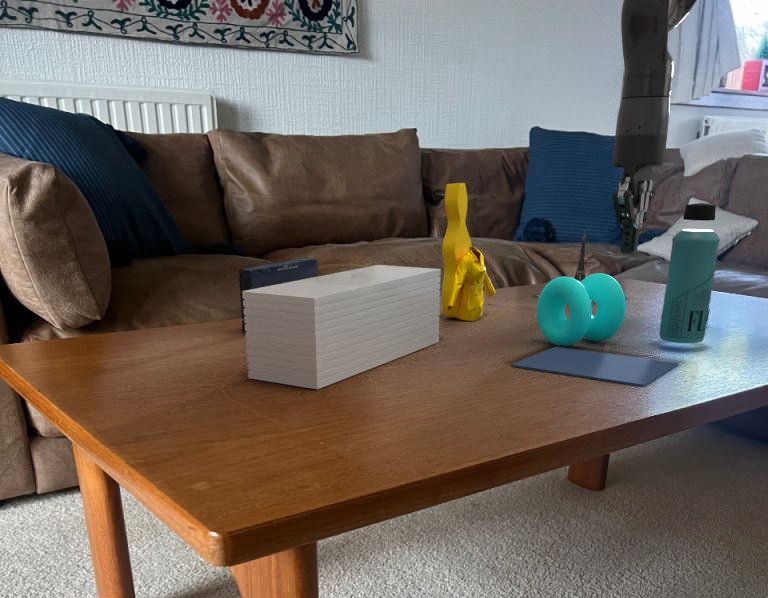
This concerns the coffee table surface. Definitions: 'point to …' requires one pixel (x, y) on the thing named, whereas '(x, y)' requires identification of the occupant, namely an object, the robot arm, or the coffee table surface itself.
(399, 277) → the stack of papers
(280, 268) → the vhs cassette tape
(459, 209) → the figure statuette
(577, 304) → the donuts
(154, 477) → the coffee table surface
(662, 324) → the beverage bottle
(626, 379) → the felt mat
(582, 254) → the eiffel tower figurine
